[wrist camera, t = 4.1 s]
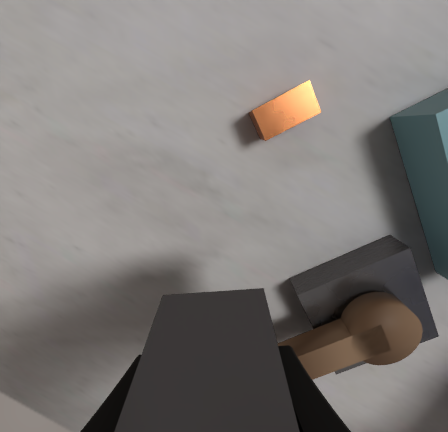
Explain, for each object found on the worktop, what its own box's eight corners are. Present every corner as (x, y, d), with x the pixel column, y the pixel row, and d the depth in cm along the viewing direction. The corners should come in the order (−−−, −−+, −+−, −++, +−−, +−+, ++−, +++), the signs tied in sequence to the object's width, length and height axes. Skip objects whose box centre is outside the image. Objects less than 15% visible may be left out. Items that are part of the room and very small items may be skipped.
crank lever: (395, 281, 16) (503, 378, 10) (412, 331, 17) (520, 446, 11) (193, 363, 18) (178, 488, 12) (221, 403, 19) (220, 537, 13)
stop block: (263, 288, 11) (328, 546, 4) (266, 367, 12) (320, 664, 5) (162, 295, 11) (68, 560, 4) (175, 372, 12) (119, 672, 5)
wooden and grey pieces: (417, 315, 20) (438, 336, 18) (325, 351, 21) (336, 374, 19) (333, 67, 15) (349, 58, 13) (216, 129, 16) (215, 129, 14)
